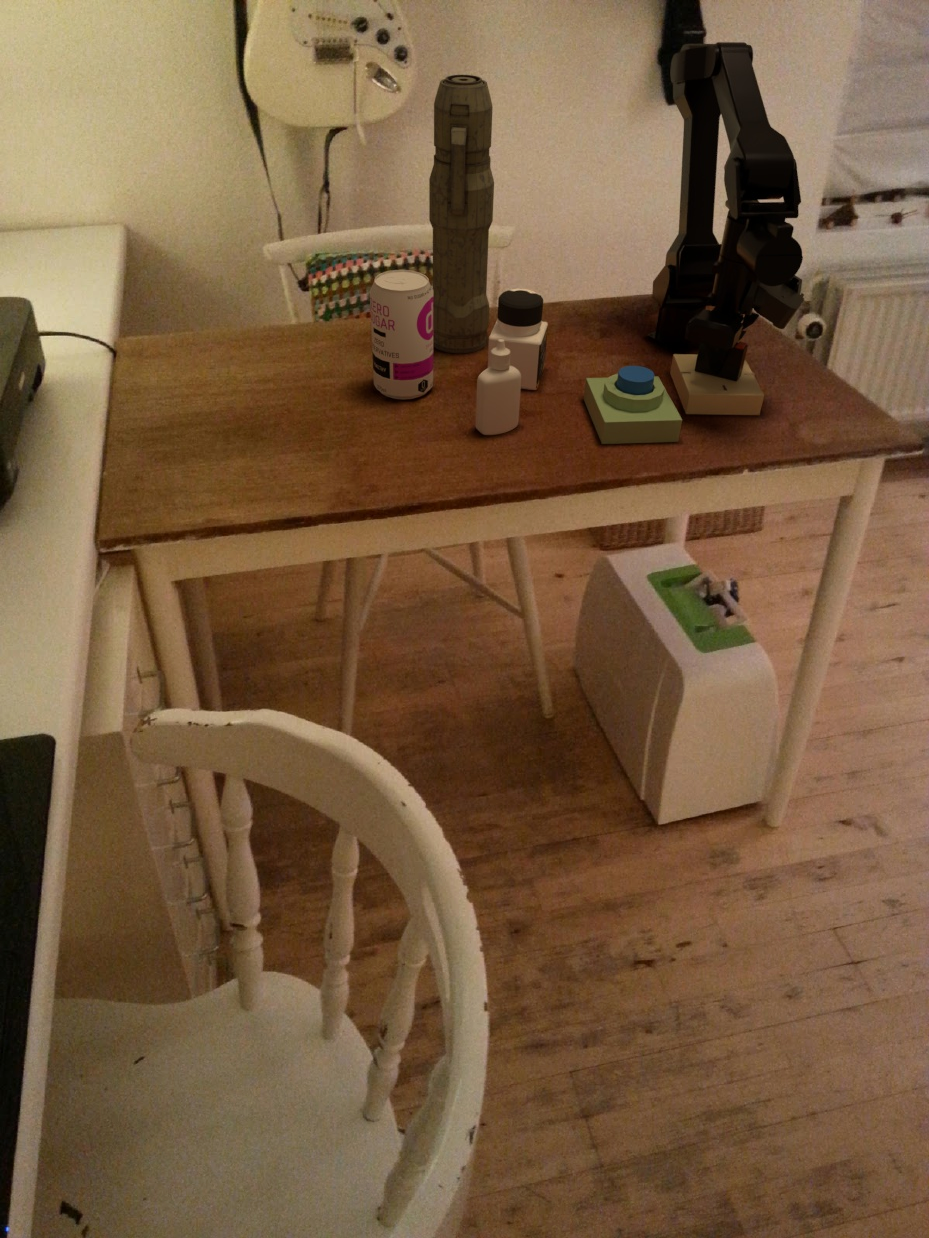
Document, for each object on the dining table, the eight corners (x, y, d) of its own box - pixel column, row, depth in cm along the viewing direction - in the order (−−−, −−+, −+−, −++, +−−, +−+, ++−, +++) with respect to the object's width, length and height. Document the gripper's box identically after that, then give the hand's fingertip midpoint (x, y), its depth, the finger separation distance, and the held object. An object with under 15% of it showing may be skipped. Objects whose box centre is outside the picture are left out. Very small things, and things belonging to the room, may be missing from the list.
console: (669, 373, 137) (672, 352, 135) (739, 374, 137) (744, 354, 135) (684, 414, 128) (689, 393, 125) (760, 415, 128) (765, 394, 126)
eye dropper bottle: (474, 419, 125) (477, 332, 117) (517, 420, 125) (523, 333, 117) (475, 436, 122) (478, 348, 114) (519, 436, 122) (525, 348, 114)
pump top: (612, 380, 124) (614, 366, 123) (647, 379, 125) (649, 365, 124) (620, 397, 121) (622, 382, 120) (656, 396, 121) (658, 381, 120)
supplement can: (441, 379, 133) (442, 273, 124) (420, 406, 127) (419, 296, 118) (388, 370, 135) (384, 264, 126) (364, 395, 129) (359, 287, 120)
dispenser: (583, 399, 130) (587, 365, 127) (654, 397, 131) (660, 363, 128) (601, 444, 121) (606, 409, 118) (678, 442, 122) (685, 407, 119)
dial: (694, 371, 131) (700, 338, 127) (698, 365, 132) (705, 333, 129) (736, 381, 128) (744, 348, 125) (741, 375, 130) (748, 343, 127)
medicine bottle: (537, 391, 131) (543, 307, 124) (486, 385, 132) (489, 301, 125) (544, 368, 137) (551, 286, 129) (495, 363, 138) (499, 281, 130)
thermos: (429, 358, 138) (428, 89, 116) (428, 324, 147) (428, 68, 124) (489, 358, 139) (501, 90, 116) (485, 324, 148) (496, 69, 125)
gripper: (787, 293, 111) (756, 414, 121) (824, 246, 123) (793, 358, 133) (695, 274, 115) (673, 392, 125) (740, 229, 127) (717, 340, 137)
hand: (717, 370), depth 130 cm, fingers closed on dial, 2 cm apart
